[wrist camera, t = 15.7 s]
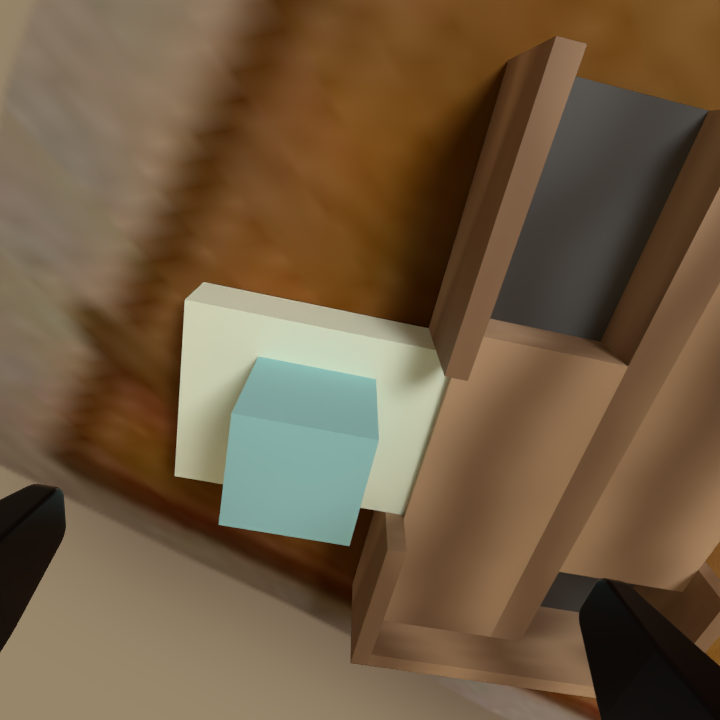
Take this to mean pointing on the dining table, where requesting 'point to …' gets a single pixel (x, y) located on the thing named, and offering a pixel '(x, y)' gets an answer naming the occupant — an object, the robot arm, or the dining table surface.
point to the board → (311, 348)
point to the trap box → (563, 392)
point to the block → (300, 452)
